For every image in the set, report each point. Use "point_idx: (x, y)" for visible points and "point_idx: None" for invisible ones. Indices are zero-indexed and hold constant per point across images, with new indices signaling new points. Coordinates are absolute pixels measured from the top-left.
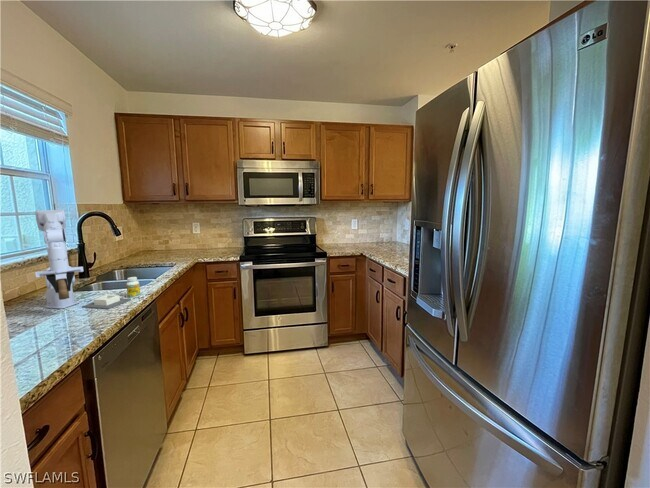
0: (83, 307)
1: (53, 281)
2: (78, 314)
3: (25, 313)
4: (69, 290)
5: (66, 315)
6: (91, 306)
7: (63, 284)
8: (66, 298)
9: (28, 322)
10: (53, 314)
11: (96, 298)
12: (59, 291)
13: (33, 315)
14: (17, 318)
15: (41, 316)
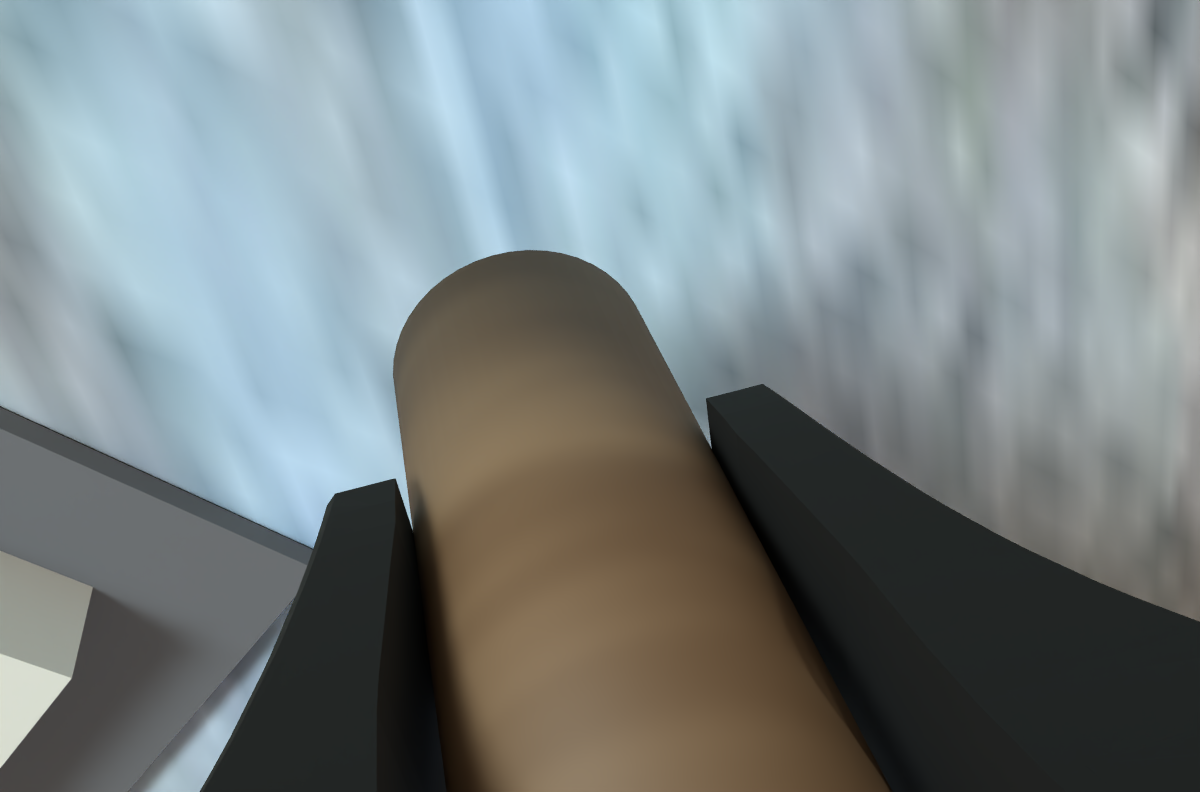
0: (288, 541)
1: (1076, 686)
2: (223, 125)
3: (1081, 571)
4: (350, 494)
5: (471, 179)
6: (100, 495)
7: (559, 643)
8: (440, 284)
9: (1043, 69)
10: (720, 358)
11: (27, 718)
12: (668, 419)
13: (990, 438)
14: (1169, 386)
15: (883, 331)
